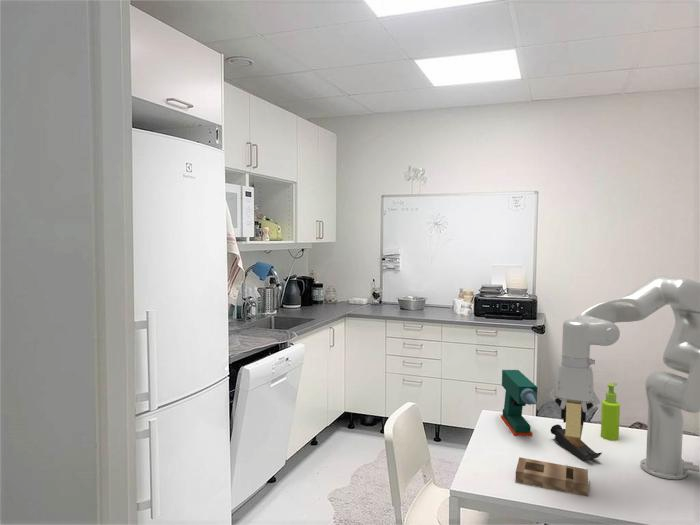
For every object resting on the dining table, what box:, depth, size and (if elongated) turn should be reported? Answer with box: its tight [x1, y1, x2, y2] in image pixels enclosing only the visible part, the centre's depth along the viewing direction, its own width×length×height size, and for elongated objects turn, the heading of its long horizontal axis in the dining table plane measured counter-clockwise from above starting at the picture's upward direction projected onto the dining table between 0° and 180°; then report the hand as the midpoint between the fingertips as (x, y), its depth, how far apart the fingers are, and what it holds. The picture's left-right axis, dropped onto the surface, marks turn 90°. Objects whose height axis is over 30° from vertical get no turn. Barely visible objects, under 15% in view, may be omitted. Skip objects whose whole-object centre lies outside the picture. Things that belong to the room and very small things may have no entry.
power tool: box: [500, 369, 538, 437], centre depth 189 cm, size 32×7×20 cm, turn 179°
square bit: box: [564, 400, 581, 438], centre depth 150 cm, size 4×4×10 cm
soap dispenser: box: [600, 382, 621, 441], centre depth 186 cm, size 6×7×20 cm
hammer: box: [549, 402, 603, 461], centre depth 172 cm, size 20×5×30 cm, turn 14°
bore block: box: [515, 456, 589, 497], centre depth 154 cm, size 20×10×4 cm, turn 66°
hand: (573, 421), depth 150 cm, fingers closed on square bit, 4 cm apart
